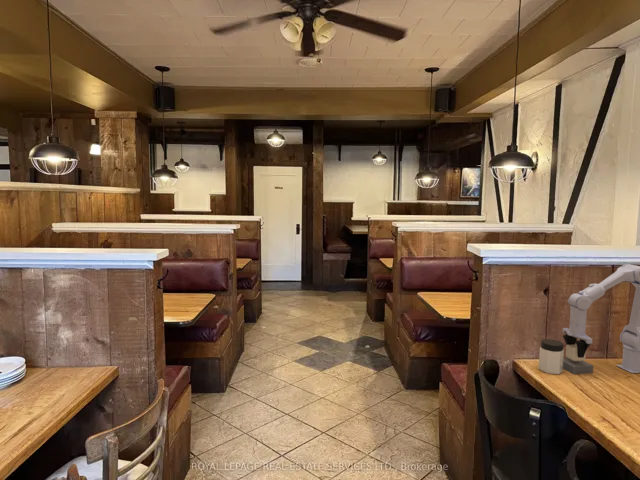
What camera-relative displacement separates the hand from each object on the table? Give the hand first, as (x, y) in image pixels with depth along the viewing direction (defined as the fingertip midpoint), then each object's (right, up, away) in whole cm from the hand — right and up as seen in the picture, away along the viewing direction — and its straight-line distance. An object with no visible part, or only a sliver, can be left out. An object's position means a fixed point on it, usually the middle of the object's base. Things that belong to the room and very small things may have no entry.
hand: (575, 354), depth 174 cm
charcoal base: (0, -7, +1) cm, 7 cm away
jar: (-11, -7, -1) cm, 13 cm away
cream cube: (0, -2, 0) cm, 2 cm away
